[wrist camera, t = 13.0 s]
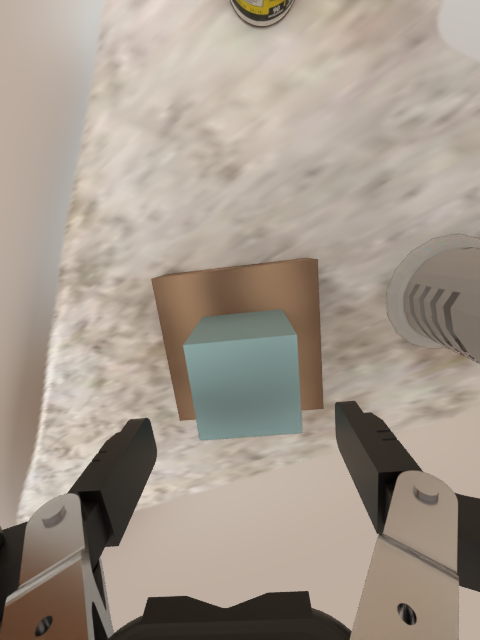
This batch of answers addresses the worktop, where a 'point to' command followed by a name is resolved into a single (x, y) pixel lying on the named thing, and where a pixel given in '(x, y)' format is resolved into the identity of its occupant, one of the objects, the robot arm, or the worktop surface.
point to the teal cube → (244, 375)
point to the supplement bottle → (262, 10)
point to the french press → (439, 295)
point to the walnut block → (242, 297)
